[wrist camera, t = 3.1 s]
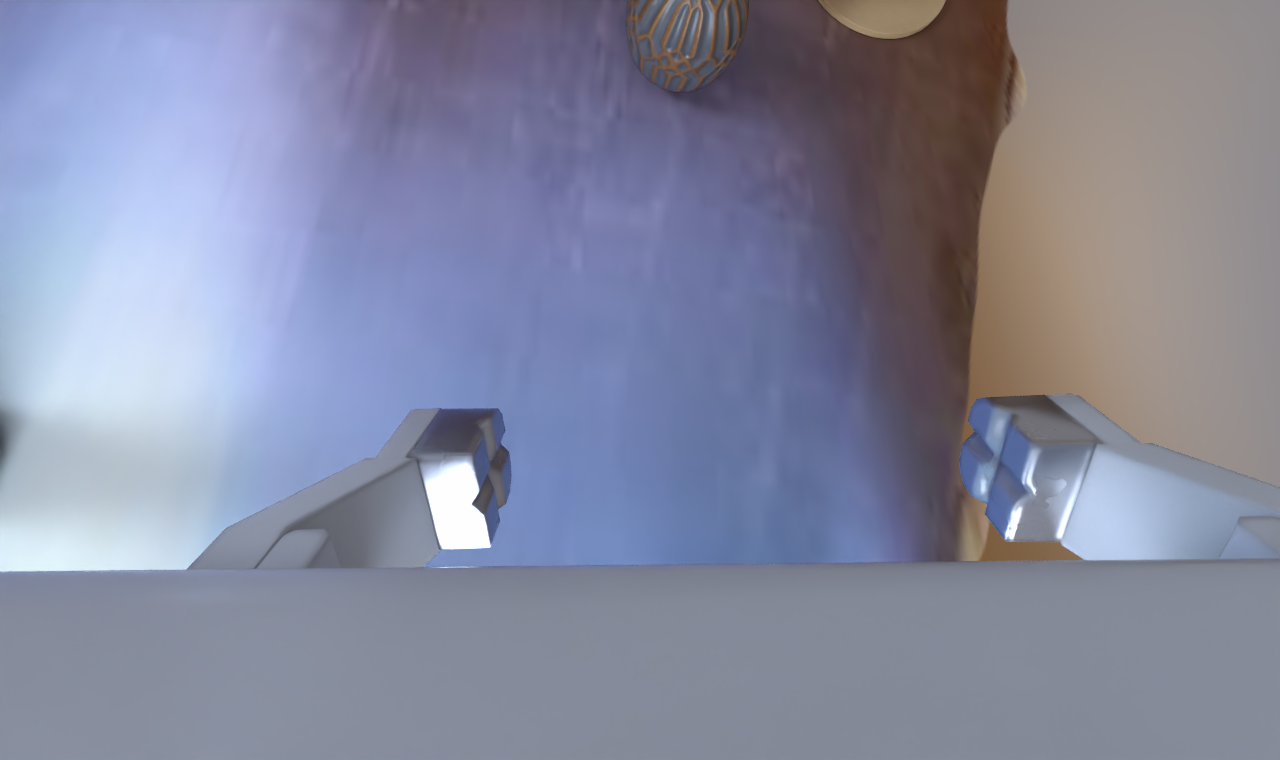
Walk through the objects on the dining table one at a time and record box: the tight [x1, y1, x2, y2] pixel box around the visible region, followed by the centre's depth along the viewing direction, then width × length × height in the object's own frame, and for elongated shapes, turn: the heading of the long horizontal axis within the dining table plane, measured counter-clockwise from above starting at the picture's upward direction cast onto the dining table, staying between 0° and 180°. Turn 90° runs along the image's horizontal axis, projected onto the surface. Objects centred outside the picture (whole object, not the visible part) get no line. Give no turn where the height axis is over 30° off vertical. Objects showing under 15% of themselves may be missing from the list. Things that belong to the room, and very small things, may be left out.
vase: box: [626, 0, 749, 92], centre depth 34 cm, size 7×7×9 cm
